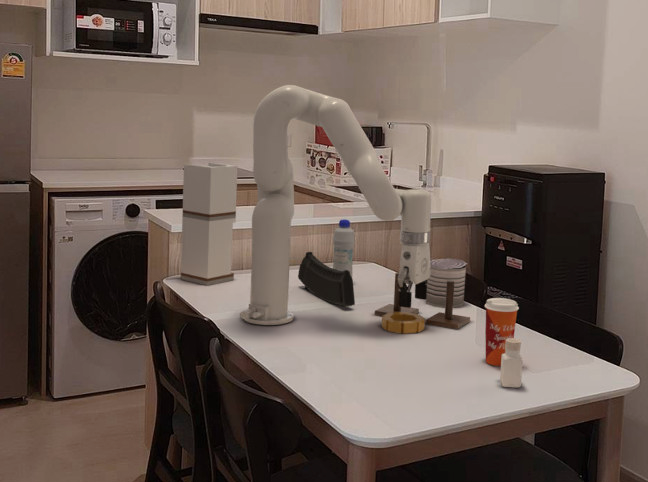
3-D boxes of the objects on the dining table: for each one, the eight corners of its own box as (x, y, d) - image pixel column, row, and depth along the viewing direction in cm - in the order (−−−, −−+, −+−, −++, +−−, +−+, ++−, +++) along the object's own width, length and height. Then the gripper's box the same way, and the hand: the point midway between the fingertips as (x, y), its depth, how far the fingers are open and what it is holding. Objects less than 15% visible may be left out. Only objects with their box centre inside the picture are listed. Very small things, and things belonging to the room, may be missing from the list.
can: (470, 306, 235) (473, 265, 234) (433, 308, 231) (436, 266, 230) (454, 297, 246) (456, 257, 245) (419, 298, 241) (421, 258, 240)
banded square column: (233, 279, 252) (237, 166, 248) (207, 285, 243) (211, 167, 239) (207, 273, 258) (210, 162, 254) (180, 279, 249) (183, 164, 245)
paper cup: (487, 368, 181) (491, 306, 180) (476, 357, 189) (480, 297, 187) (520, 367, 184) (524, 305, 182) (508, 356, 191) (512, 297, 190)
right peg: (457, 329, 211) (460, 286, 210) (425, 323, 214) (428, 281, 213) (470, 321, 219) (472, 280, 218) (438, 316, 223) (441, 275, 222)
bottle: (327, 283, 253) (330, 219, 251) (336, 279, 260) (339, 217, 258) (347, 286, 251) (350, 221, 250) (355, 282, 258) (359, 219, 256)
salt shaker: (518, 381, 174) (521, 338, 173) (521, 388, 170) (524, 343, 169) (499, 381, 173) (502, 337, 173) (501, 387, 169) (504, 342, 169)
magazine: (360, 279, 222) (315, 230, 245) (350, 280, 220) (305, 230, 243) (349, 333, 227) (306, 280, 250) (338, 335, 225) (296, 281, 248)
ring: (413, 335, 203) (413, 325, 203) (375, 328, 207) (376, 318, 207) (429, 326, 213) (430, 316, 212) (393, 319, 217) (394, 310, 216)
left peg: (404, 320, 217) (407, 278, 216) (374, 315, 220) (376, 273, 219) (418, 313, 225) (421, 272, 224) (389, 308, 229) (391, 268, 228)
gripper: (414, 244, 202) (412, 312, 204) (441, 234, 218) (439, 297, 220) (387, 241, 205) (385, 308, 207) (415, 231, 221) (413, 294, 223)
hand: (413, 302), depth 213 cm, fingers open, 9 cm apart
